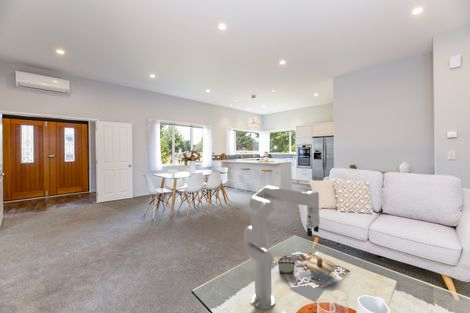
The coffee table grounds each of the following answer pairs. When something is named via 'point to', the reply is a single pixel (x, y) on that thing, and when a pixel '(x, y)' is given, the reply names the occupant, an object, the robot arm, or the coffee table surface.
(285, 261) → the food container
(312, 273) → the bowl
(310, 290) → the mat
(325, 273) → the lid
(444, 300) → the coffee table surface
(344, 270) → the coffee table surface
